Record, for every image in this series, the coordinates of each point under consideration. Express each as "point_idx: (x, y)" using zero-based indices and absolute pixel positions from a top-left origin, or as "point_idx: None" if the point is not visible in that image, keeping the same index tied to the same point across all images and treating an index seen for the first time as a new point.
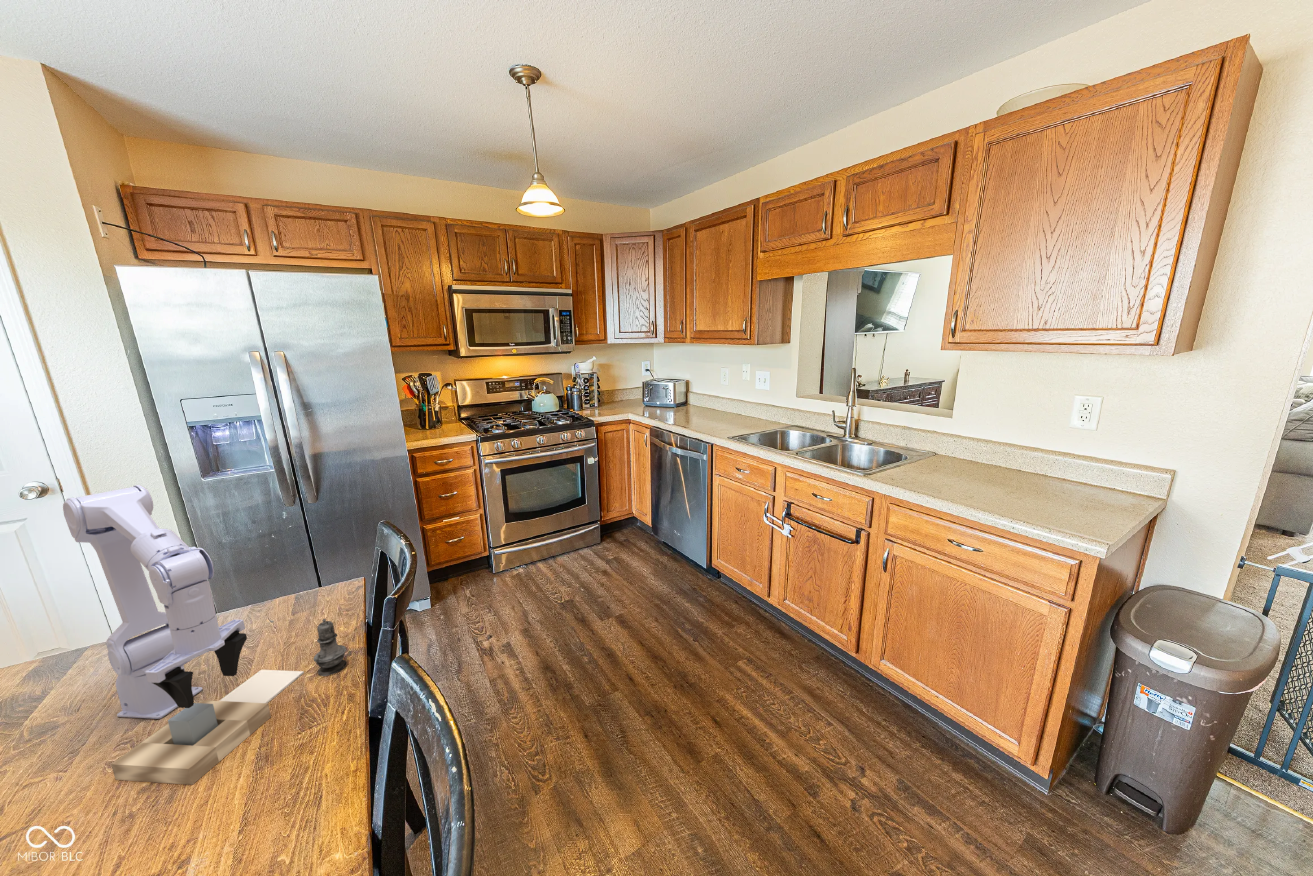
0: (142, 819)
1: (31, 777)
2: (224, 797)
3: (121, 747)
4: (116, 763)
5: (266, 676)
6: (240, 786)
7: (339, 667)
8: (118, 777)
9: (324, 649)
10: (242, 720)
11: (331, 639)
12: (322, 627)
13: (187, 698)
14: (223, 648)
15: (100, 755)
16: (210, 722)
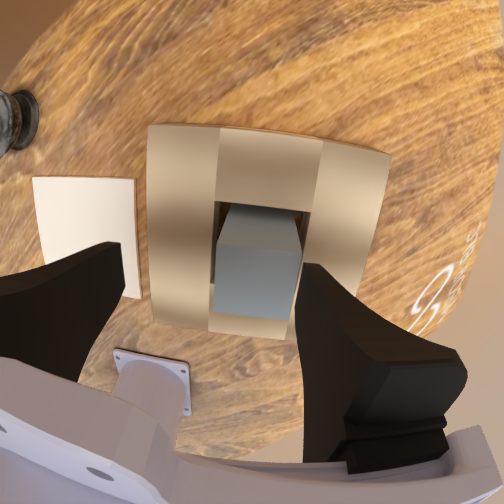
0: (437, 187)
1: (300, 416)
2: (409, 54)
3: (253, 368)
4: None
5: (58, 253)
6: (384, 36)
7: (18, 96)
8: None
9: None
10: (218, 144)
11: None
12: None
13: (340, 285)
14: (46, 361)
15: (268, 381)
16: (242, 223)
